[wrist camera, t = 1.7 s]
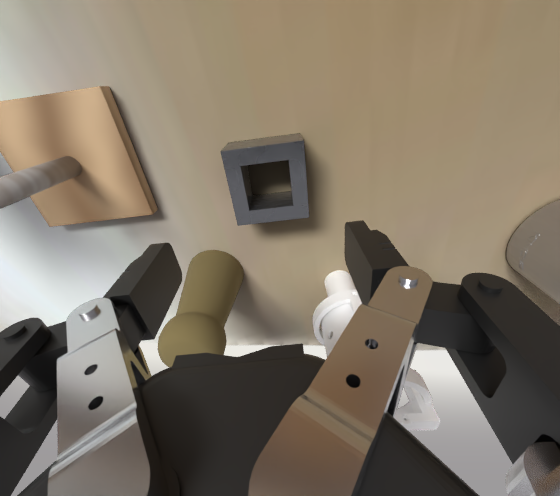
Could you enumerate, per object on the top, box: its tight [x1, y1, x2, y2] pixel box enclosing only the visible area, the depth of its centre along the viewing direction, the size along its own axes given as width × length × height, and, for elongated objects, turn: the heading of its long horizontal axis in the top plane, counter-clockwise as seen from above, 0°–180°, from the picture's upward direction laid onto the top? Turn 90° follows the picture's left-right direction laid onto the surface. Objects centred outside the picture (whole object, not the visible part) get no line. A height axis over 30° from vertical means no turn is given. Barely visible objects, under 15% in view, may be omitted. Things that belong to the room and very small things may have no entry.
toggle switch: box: [0, 86, 158, 227], centre depth 19 cm, size 10×10×8 cm
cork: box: [158, 250, 244, 367], centre depth 24 cm, size 6×6×11 cm
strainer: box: [313, 270, 440, 431], centre depth 23 cm, size 7×7×15 cm
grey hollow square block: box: [221, 133, 309, 226], centre depth 22 cm, size 6×6×4 cm
